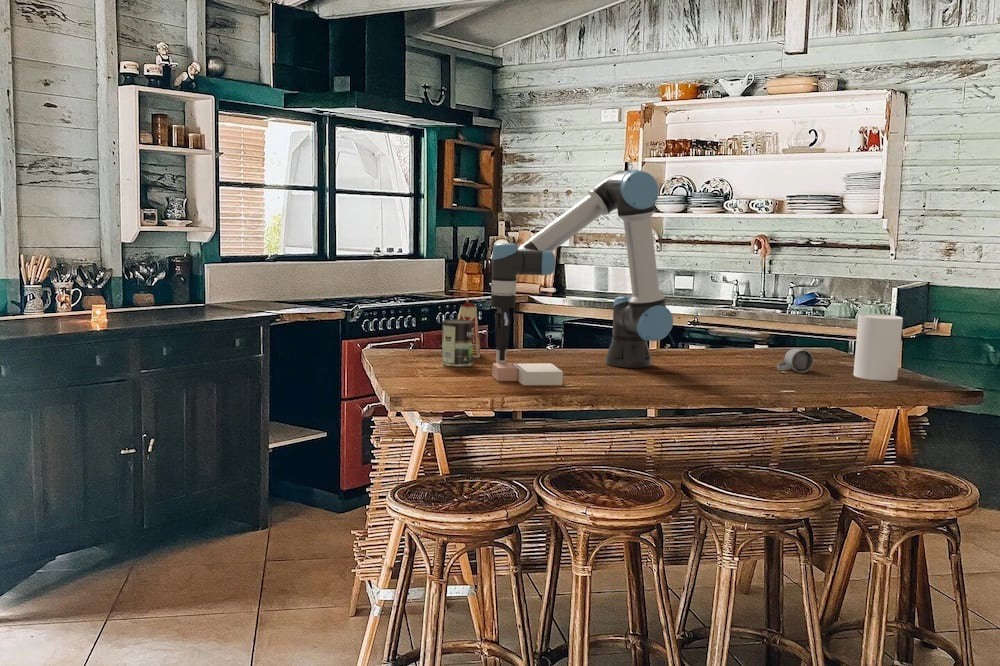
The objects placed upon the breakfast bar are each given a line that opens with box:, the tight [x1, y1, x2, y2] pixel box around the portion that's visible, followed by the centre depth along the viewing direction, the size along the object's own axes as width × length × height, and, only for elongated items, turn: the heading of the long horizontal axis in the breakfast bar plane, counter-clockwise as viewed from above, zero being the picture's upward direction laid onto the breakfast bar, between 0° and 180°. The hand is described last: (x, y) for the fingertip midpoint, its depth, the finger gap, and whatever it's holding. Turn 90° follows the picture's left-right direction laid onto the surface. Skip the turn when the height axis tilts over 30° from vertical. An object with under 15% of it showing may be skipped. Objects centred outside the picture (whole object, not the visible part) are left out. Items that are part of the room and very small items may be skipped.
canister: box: [853, 313, 904, 382], centre depth 322 cm, size 14×14×20 cm
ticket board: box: [512, 362, 564, 386], centre depth 297 cm, size 12×14×4 cm
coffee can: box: [441, 318, 474, 367], centre depth 321 cm, size 10×10×14 cm
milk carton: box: [457, 298, 481, 359], centre depth 338 cm, size 9×9×20 cm
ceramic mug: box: [776, 347, 814, 374], centre depth 329 cm, size 11×8×8 cm
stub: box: [491, 362, 518, 382], centre depth 298 cm, size 6×8×4 cm
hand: (500, 370), depth 303 cm, fingers closed
